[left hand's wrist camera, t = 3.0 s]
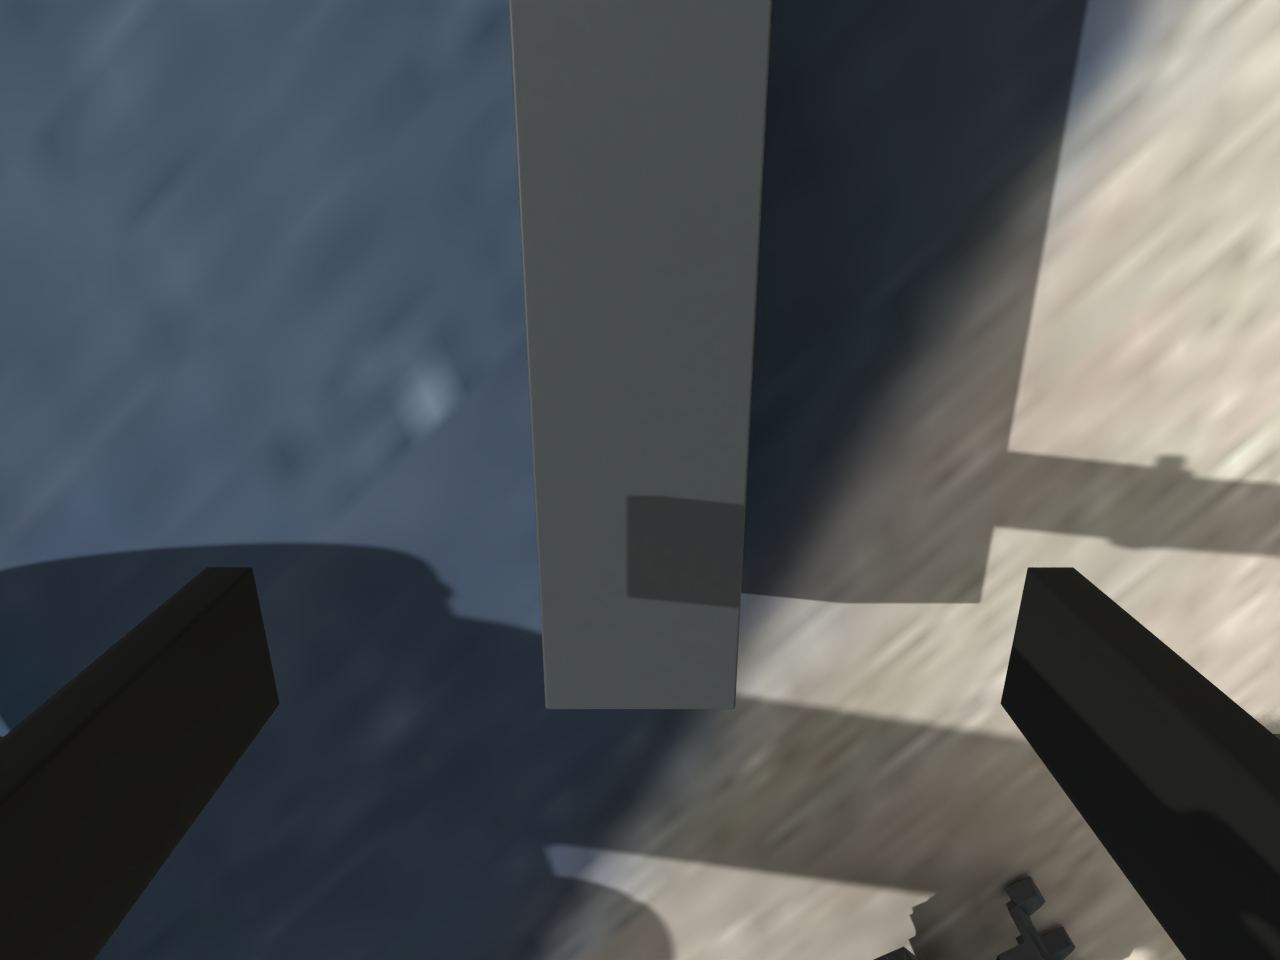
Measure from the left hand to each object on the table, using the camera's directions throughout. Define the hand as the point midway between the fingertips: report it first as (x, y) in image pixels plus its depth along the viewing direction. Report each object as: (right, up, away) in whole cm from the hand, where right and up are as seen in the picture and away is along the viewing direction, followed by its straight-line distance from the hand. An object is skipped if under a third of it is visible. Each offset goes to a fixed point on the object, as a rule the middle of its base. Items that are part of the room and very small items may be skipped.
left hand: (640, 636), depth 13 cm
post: (0, +37, 0) cm, 38 cm away
